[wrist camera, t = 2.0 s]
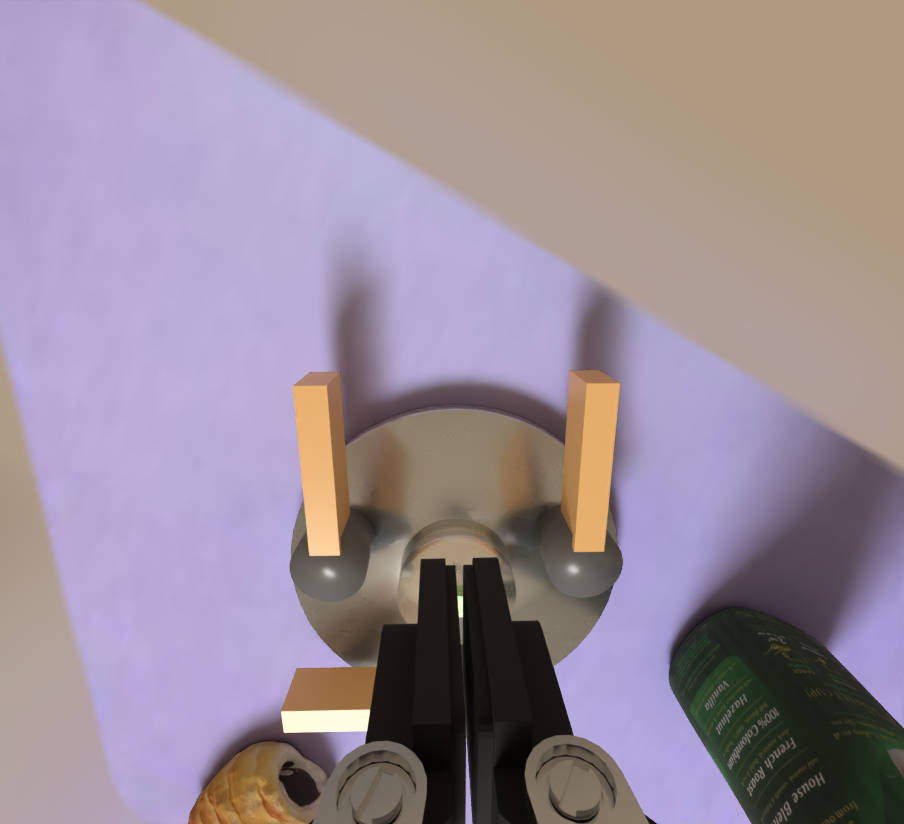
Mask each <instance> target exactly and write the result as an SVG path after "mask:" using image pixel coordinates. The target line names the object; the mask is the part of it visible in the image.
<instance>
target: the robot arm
mask: <svg viewBox="0 0 904 824" xmlns="http://www.w3.org/2000/svg"><path fill="white" fill-rule="evenodd" d="M465 718H466V720H465ZM466 733H467V748H468V763H469V777H470V792H471V807H472V822H473V824H657V823H655V822H654V821H653V820H651V819H650V818H649V817H647V816H646V815H645V814H644V813H643V811H642V809H641V807H640V805H639V804H638V802H637V800H636V798H635V796H634V794H633V792H632V790H631V788H630V786H629V784H628V783H627V781H626V779H625V777H624V775H623V773H622V771H621V770H620V768H619V767H618V765H617V764H616V763H615V761H614V760H613V758H612V757H611V756H610V755H609V754H607V753H606V752H605V751H604V750H603V749H602V748H601V747H600V746H598V745H596V744H594V743H592V742H590V741H588V740H587V739H584V738H580V737H576V736H574V735H573V732H572V728H571V725H570V722H569V718H568V715H567V711H566V708H565V705H564V701H563V698H562V695H561V691H560V688H559V684H558V681H557V678H556V674H555V671H554V667H553V664H552V661H551V657H550V654H549V650H548V647H547V644H546V640H545V637H544V634H543V630H542V627H541V624H540V622H539V621H538V620H532V621H512V620H511V615H510V611H509V606H508V601H507V597H506V592H505V587H504V583H503V578H502V574H501V569H500V564H499V560H498V557H483V558H473V559H472V565H463V670H462V655H461V640H460V626H459V611H458V596H457V581H456V566H455V565H446V561H445V558H437V559H421V561H420V580H419V600H418V620H417V623H416V624H384V625H383V628H382V633H381V640H380V647H379V654H378V661H377V667H376V674H375V681H374V688H373V694H372V701H371V708H370V715H369V722H368V728H367V735H366V742H365V745H362V746H359V747H358V748H356V749H355V750H353V751H352V752H350V753H348V754H347V755H346V756H345V757H344V758H343V759H342V760H341V761H340V762H339V763H338V765H337V766H336V767H335V768H334V770H333V772H332V774H331V776H330V778H329V780H328V782H327V784H326V787H325V790H324V793H323V795H322V798H321V801H320V804H319V807H318V809H317V812H316V815H315V818H314V819H313V820H312V821H311V822H310V823H309V824H465V803H466Z"/></svg>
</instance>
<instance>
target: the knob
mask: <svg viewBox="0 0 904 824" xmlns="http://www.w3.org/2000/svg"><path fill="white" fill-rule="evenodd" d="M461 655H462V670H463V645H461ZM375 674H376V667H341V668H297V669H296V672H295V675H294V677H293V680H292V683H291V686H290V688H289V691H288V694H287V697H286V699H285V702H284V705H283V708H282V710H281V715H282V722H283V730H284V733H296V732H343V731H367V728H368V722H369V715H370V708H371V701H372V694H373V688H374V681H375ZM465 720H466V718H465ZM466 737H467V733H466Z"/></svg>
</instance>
